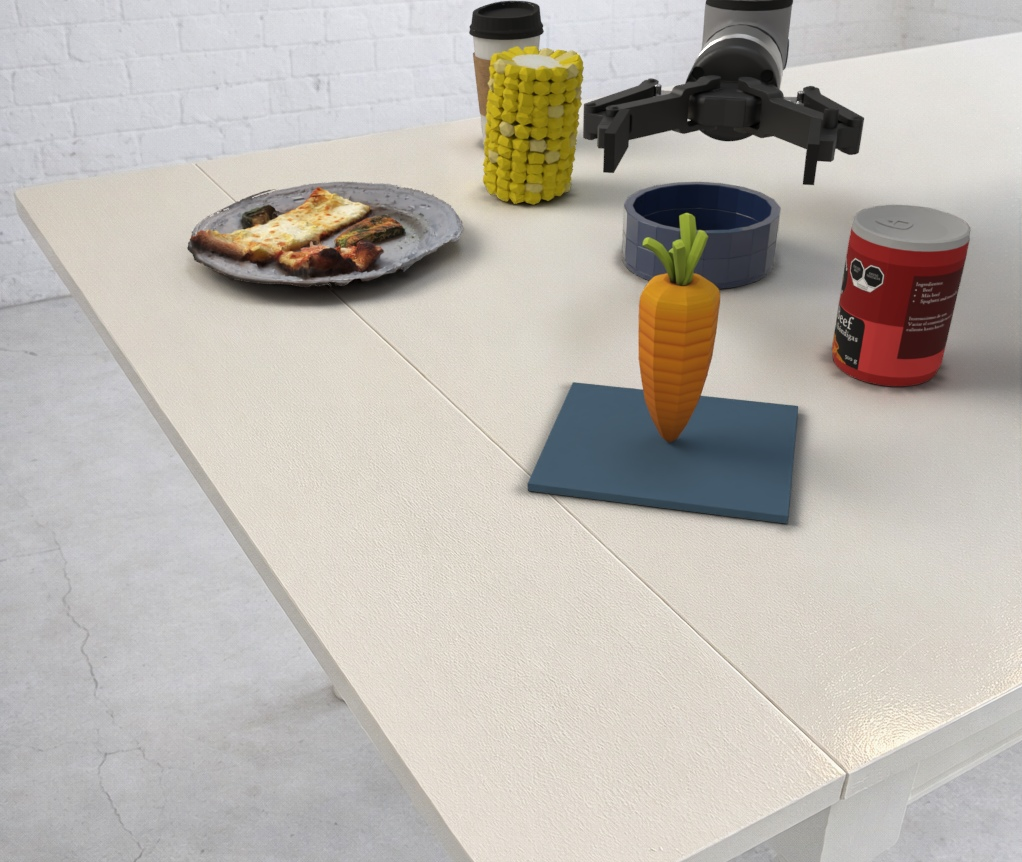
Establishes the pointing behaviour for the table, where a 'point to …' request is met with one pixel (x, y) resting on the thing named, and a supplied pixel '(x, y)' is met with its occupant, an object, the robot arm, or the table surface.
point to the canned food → (899, 293)
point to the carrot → (676, 331)
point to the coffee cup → (501, 39)
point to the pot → (720, 213)
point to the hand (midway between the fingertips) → (708, 159)
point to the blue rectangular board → (671, 454)
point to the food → (531, 123)
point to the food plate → (324, 233)
